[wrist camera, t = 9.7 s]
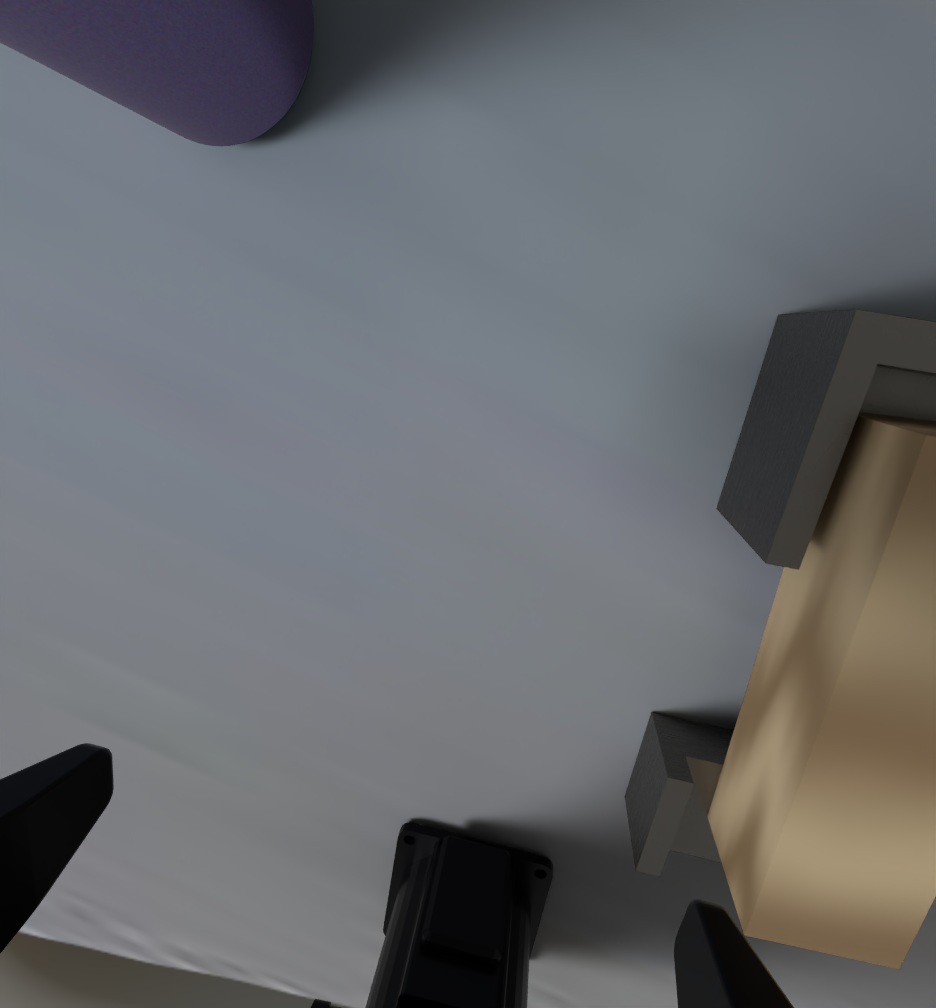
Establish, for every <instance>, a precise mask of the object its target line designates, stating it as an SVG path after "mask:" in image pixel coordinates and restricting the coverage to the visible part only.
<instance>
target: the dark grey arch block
mask: <svg viewBox="0 0 936 1008" xmlns="http://www.w3.org/2000/svg"><path fill="white" fill-rule="evenodd" d="M733 732H734V731H732V730H728V729H723V728H719V727H715V726H710V725H706V724H701V723H697V722H693V721H688V720H684V719H680V718H675V717H671V716H667V715H662V714H658V713H653V712H652V713H651V716H650V719H649V722H648V725H647V728H646V731H645V734H644V738H643V741H642V744H641V747H640V750H639V753H638V756H637V760H636V763H635V766H634V769H633V772H632V775H631V778H630V781H629V785H628V788H627V791H626V794H625V801H626V808H627V815H628V822H629V828H630V835H631V842H632V849H633V856H634V862H635V869H636V871H638V872H642V873H646V874H650V875H654V876H658V877H660V875H661V872H662V870H663V867H664V864H665V861H666V859H667V856H668V853H669V850H672V851H676V852H680V853H684V854H688V855H692V856H696V857H700V858H704V859H708V860H712V861H716V862H720V863H722V862H721V859H720V856H719V853H718V849H717V846H716V843H715V840H714V836H713V833H712V830H711V827H710V824H709V820H708V817H707V816H708V813H709V810H710V807H711V803H712V800H713V797H714V794H715V790H716V787H717V784H718V781H719V777H720V774H721V771H722V768H723V764H724V761H725V758H726V755H727V751H728V748H729V745H730V742H731V738H732V735H733Z"/></svg>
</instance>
